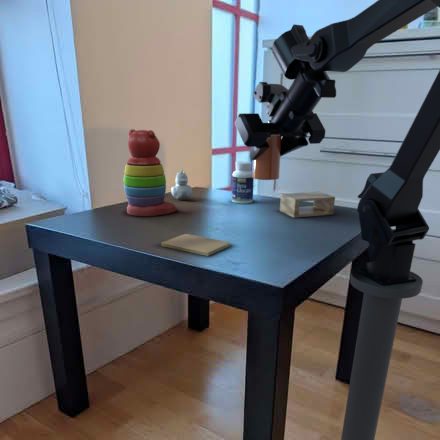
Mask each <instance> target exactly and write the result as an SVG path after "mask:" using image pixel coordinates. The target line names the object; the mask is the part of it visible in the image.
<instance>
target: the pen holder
mask: <svg viewBox="0 0 440 440" xmlns="http://www.w3.org/2000/svg"><path fill="white" fill-rule="evenodd" d="M281 139H282V137H281V136H271V137H270V138H269V139H268V141H267V142H268V144H269V146H270V147H269V148H268V149H267V150H266V151H264V152H263V153H262V154H261V155H259V156H258V157H257V158H256V159H254V160H252V172H253V178H254V180H257V181H258V180H259V181H275V180H279V179H280V171H281V169H280V168H281V157H280V152H281Z"/></svg>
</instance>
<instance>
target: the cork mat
mask: <svg viewBox="0 0 440 440" xmlns="http://www.w3.org/2000/svg"><path fill="white" fill-rule="evenodd" d="M231 245H232V243H231V242H230V241H226V240H220V239H215V238H210V237H206V236H200V235H194V234H190V233H183V234H181V235H178V236H176V237H172V238H169V239H167V240H164V241H162V242H160V246H161V247H164V248H170V249H173V250H177V251H183V252H187V253H191V254H195V255H199V256H200V255H201V256H205V257H209V256H212V255H214V254H216V253H218V252H220V251H222V250H224V249H227V248H229V247H231Z"/></svg>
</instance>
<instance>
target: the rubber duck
mask: <svg viewBox="0 0 440 440" xmlns="http://www.w3.org/2000/svg"><path fill="white" fill-rule="evenodd" d="M188 183H189V177H188V175H187V174H186V172H185V171H183V168H181V170H180V171H178V172H177V173H176V175H175V185H173V186H172V187H170V193H171V196H173V198H175V199H177V200H180V201H185V200H188V199H189V198H191V196H192V194H193V187H192V186H191V185H188Z"/></svg>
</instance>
